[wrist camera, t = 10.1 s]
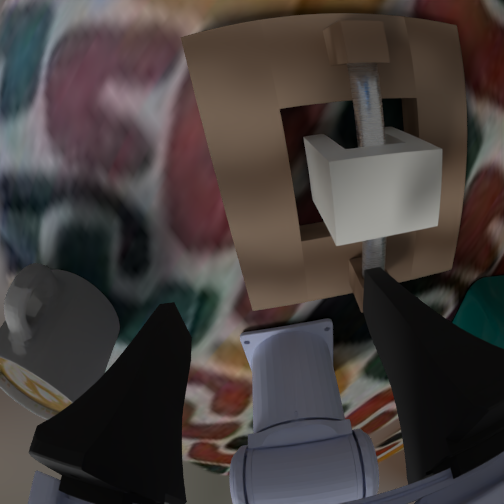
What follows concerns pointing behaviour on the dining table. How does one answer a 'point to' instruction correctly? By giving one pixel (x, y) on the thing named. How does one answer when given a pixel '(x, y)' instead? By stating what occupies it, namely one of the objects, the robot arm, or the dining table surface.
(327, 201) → the grey u-slotted block
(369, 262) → the hook bar
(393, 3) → the dining table surface
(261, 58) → the shelf
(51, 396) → the coffee mug
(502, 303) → the teal bottle
